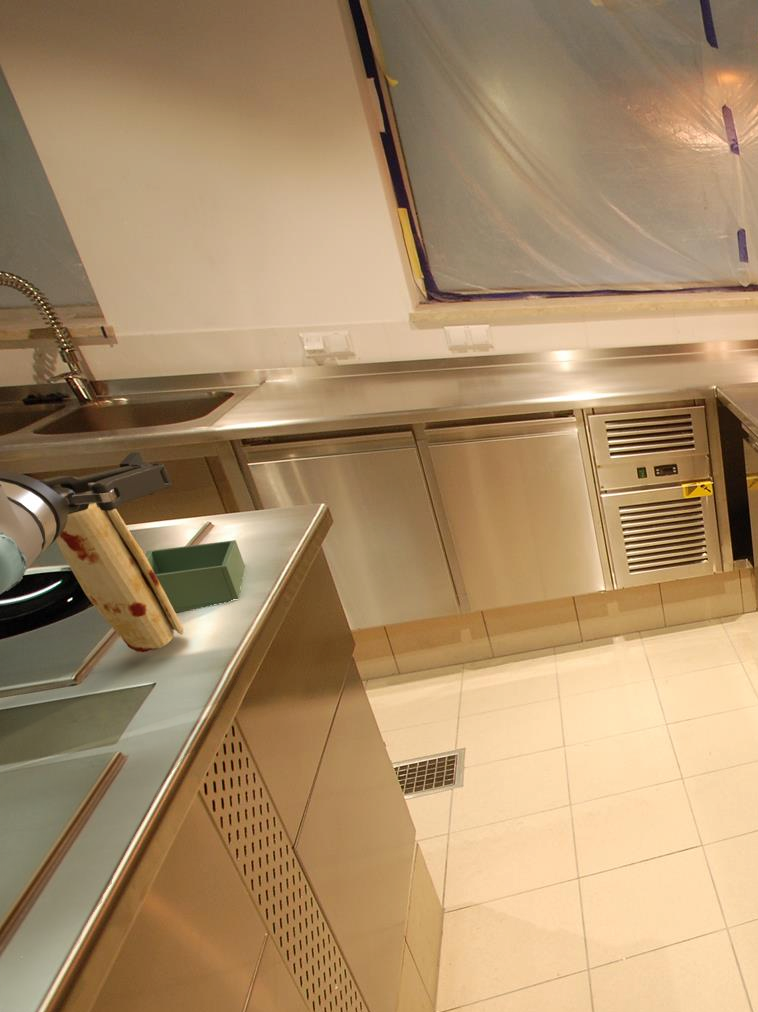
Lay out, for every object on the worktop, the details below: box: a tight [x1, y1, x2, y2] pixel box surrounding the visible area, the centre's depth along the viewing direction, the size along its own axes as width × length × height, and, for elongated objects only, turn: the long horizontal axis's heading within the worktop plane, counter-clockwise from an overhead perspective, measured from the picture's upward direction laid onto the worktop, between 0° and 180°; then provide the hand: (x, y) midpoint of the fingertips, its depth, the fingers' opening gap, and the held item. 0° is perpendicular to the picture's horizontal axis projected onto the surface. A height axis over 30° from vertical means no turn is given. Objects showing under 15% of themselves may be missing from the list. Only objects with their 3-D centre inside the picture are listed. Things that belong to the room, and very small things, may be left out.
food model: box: [55, 503, 185, 653], centre depth 102 cm, size 10×7×20 cm
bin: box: [144, 540, 246, 614], centre depth 121 cm, size 10×13×6 cm
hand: (56, 472), depth 90 cm, fingers open, 13 cm apart
